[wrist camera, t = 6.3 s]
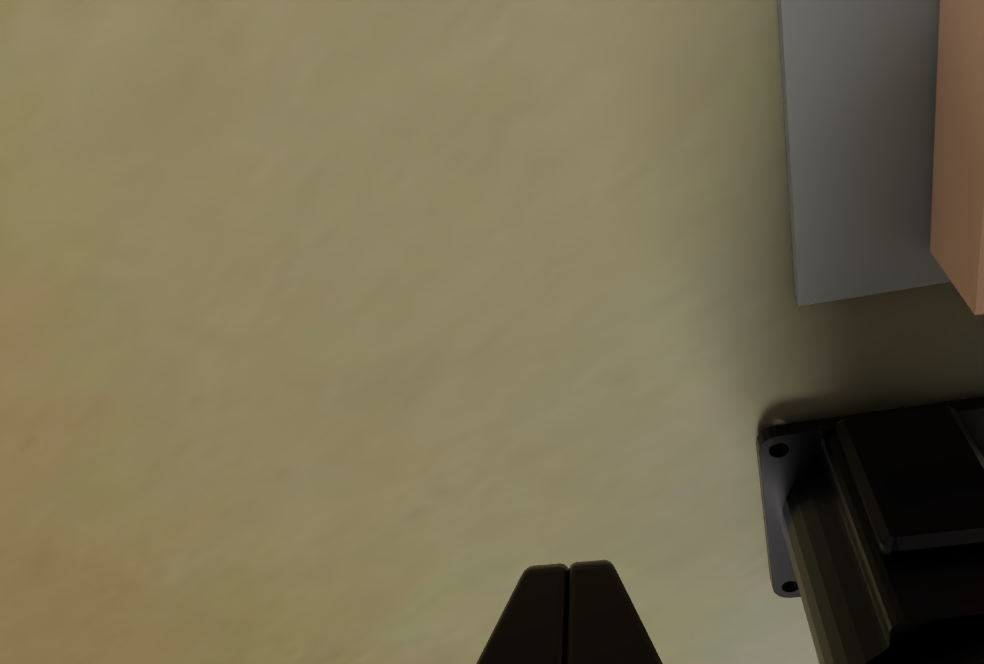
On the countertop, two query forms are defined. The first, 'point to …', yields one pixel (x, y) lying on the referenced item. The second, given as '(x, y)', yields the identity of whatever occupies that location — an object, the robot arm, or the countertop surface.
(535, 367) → the countertop surface
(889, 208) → the mat
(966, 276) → the tile
